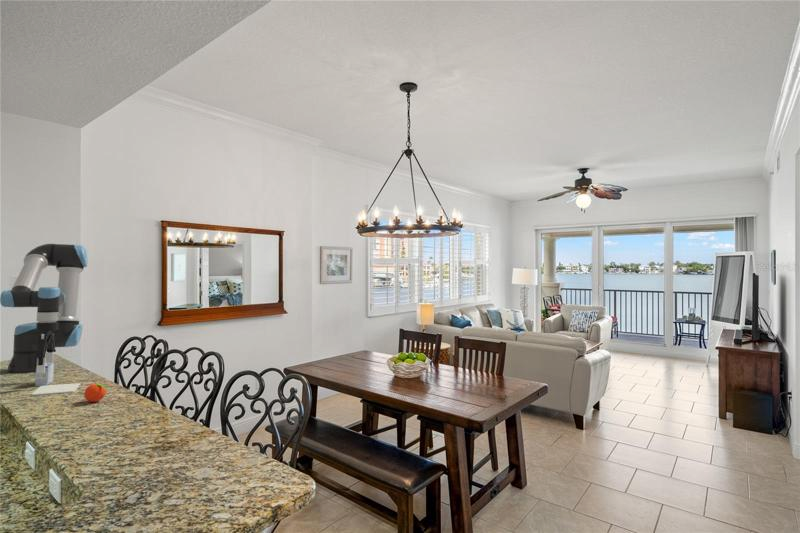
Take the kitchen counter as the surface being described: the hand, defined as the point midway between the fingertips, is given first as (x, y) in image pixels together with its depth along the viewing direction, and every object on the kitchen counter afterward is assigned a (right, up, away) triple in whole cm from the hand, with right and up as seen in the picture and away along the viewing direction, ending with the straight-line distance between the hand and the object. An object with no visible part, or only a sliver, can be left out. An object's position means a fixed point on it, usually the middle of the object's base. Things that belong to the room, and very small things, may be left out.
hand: (44, 369), depth 189 cm
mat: (+12, -7, -8) cm, 16 cm away
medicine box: (0, -7, 0) cm, 7 cm away
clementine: (+38, -7, -22) cm, 45 cm away
